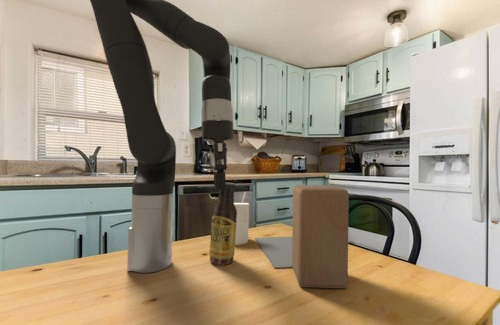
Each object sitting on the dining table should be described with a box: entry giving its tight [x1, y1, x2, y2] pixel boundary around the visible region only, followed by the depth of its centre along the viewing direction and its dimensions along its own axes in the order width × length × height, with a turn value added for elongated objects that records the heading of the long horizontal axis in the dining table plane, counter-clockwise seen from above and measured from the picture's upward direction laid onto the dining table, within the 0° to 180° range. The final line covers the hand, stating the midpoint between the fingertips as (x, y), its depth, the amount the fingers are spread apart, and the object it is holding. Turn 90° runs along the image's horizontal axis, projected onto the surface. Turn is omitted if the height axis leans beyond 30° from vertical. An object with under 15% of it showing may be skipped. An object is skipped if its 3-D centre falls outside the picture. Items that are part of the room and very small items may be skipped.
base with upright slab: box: [234, 202, 250, 246], centre depth 79 cm, size 9×9×12 cm
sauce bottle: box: [209, 182, 237, 266], centre depth 61 cm, size 6×6×20 cm
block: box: [291, 184, 350, 289], centre depth 53 cm, size 10×10×20 cm
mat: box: [254, 235, 293, 270], centre depth 71 cm, size 16×24×1 cm, turn 10°
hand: (219, 187), depth 59 cm, fingers open, 8 cm apart
